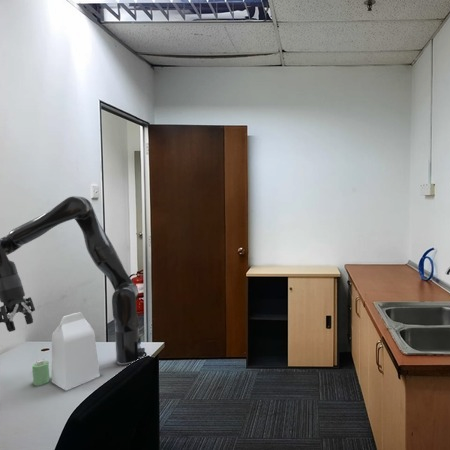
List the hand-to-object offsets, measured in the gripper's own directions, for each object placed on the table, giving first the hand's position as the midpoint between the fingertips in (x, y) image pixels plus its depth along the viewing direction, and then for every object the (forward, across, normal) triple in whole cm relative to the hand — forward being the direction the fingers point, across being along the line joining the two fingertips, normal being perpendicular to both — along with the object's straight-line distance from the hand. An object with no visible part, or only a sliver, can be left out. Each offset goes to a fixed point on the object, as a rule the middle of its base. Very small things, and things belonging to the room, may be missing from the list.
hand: (21, 327), depth 132 cm
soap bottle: (+22, -4, -5) cm, 23 cm away
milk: (+25, -2, -16) cm, 30 cm away
